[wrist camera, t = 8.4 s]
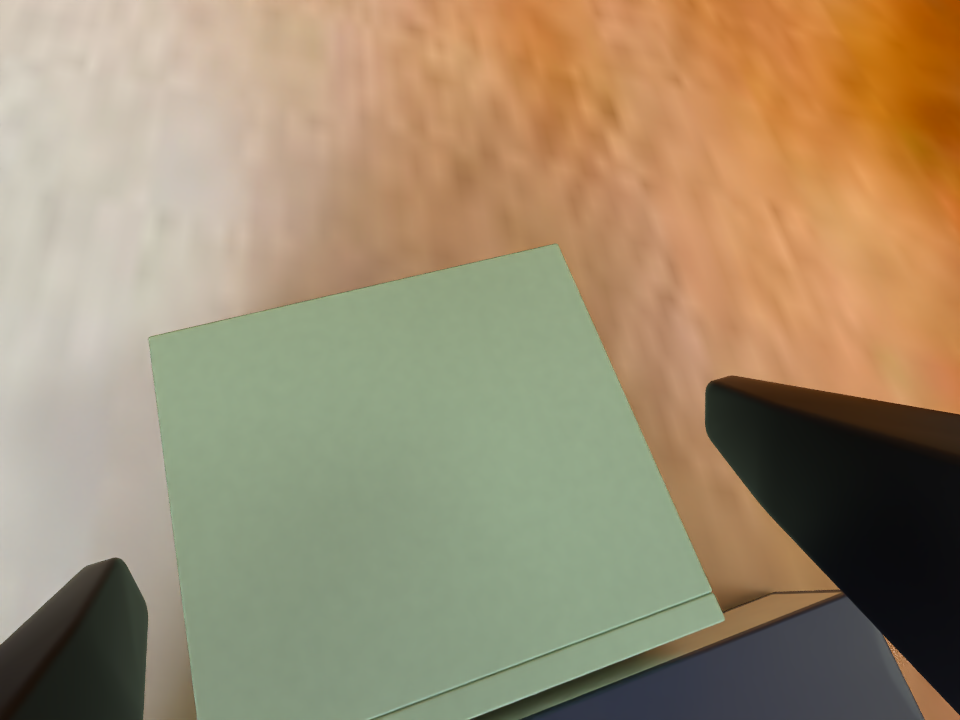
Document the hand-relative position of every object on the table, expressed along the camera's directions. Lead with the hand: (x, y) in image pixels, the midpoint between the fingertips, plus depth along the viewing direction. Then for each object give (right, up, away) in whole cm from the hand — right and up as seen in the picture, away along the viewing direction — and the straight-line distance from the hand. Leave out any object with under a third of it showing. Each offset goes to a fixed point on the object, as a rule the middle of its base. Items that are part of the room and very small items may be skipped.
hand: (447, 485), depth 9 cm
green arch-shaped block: (0, -6, +5) cm, 8 cm away
